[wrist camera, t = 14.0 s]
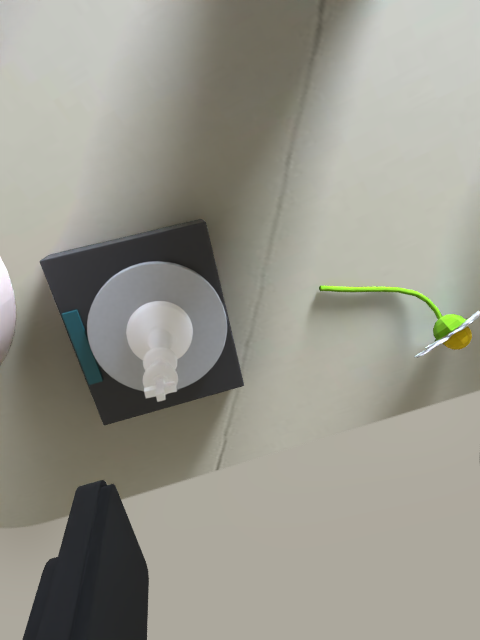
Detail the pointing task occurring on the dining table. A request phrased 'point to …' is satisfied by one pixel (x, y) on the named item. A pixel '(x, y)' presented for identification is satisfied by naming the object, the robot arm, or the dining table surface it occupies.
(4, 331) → the container
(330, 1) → the dining table surface
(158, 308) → the chess piece
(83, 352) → the scale
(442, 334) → the decorative flower
